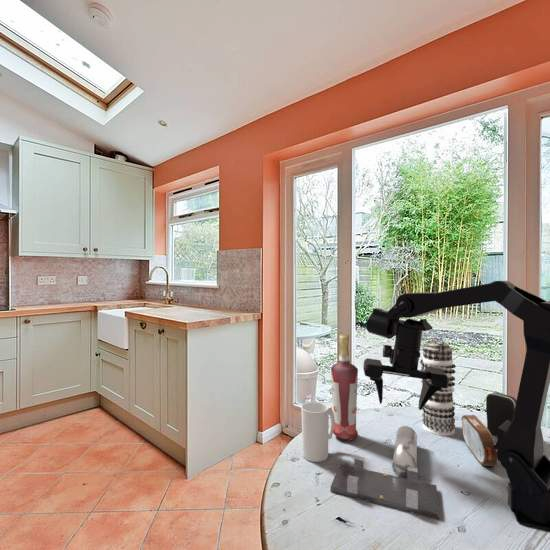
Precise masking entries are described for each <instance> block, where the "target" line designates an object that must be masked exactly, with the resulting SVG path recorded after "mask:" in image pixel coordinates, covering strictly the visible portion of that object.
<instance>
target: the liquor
mask: <svg viewBox="0 0 550 550" xmlns="http://www.w3.org/2000/svg"><path fill="white" fill-rule="evenodd" d="M338 342H339V343H338V344H339V356H338V362H337V363H335V364H333V365H332V366H331V367H330V373H331V391H332V406H333V408H332V411H333V413H334V418H335V423H334V429H333V434H334V436H336V438H337V439H339V440H341V439H342V440H341V441H346V440H347V441H352V440H353V439H355V438H356V437H357V436H358V430H357V402H358V401H357V399H358V383H359V382H358V376H359V369H358V367H357V366H355V364H352V363H350V362H351V361H350V353H349V351H350V350H349V342H350V335H348V334H339V335H338Z"/></svg>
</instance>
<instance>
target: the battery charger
mask: <svg viewBox="0 0 550 550" xmlns="http://www.w3.org/2000/svg"><path fill="white" fill-rule="evenodd" d="M516 401H517V398H515V397H513V396H512V395H508V394H505V393H504V394H503V393H500V392H490V393H488V394H487V396H486V400H485V410H486V411H485V412H486V427H487V429H488V430H489V431H490V433H491V435H492V436H494V437H495V436H496V437H497V429H498V428H499V427H500V426H501V425H502V424H503V423H505V422H506V421H507V420H509V421H511V422H512V420H513V416H514V411H515V406H516Z"/></svg>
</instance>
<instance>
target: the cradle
mask: <svg viewBox="0 0 550 550" xmlns="http://www.w3.org/2000/svg"><path fill="white" fill-rule="evenodd" d="M353 461H354V464H353V465H354V466H351V465H349V464H348V465H347V464H342V463H339V466H338V468H337V470H336V472H335V475H334V478H333V480H332V482H331V484H330V492H331V493H335V494H338V495H342V496H347V497H351V498H354V499H358V500H361V501H366V502H369V503H373V504H378V505H381V506H385V507H389V508H393V509H396V510H400V511H404V512H409V513H412V514H416V515H419V516H424V517H427V518H432V519H435V520H440V513H439V510H440V509H439V500H438V498H439V497H438V488H437V484H432V483H429V482H424V481H419V475H418V473H419V469H418V467H417V468H413V467H407V479H406V478H402V477H398V476H397V475H392V474H389V473H388V474H387V473H383V472H379V471H374V470H369V469H366V468H365V464H366V463H365V462H366V461H365V457H363V456H360V455H359V456H358V455H355V456H354V459H353Z"/></svg>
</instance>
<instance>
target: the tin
mask: <svg viewBox="0 0 550 550" xmlns="http://www.w3.org/2000/svg"><path fill="white" fill-rule="evenodd" d="M461 427H462V428H461V429H462V436H463V437H462V438H463V440H464V442H465V445H466V446H467V448H468V449H469V451H470V453H471V454H472V455H473V456H474V458H475V459H476V460H477V462H478V463H479V464H480V465H481V466H485V467H493V468H495V467H496V466H497V464H498V459H497V449H494V448H493V447H494V446H495V445H496V442H495V440H494V437H493V435H492V434H491V433H490V431H489V430H488V429H487V425H485V424H484V423H483V422H482V421H481V420H480V419H479V418H478V417H477V415H475V414H464V415H462V416H461Z"/></svg>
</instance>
